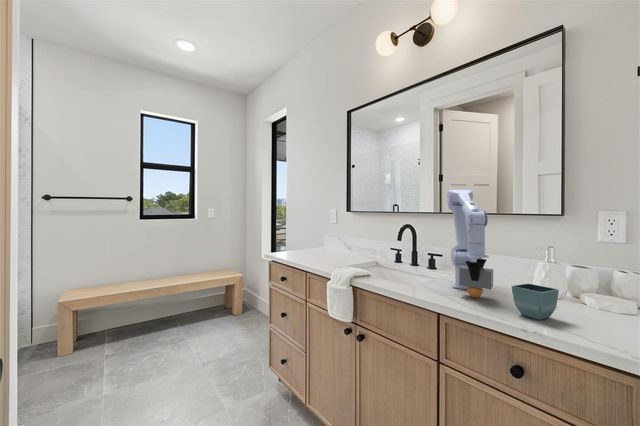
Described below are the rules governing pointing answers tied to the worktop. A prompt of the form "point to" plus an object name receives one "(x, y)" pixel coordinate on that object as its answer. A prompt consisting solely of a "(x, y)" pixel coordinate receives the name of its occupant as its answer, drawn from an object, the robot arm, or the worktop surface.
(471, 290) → the ball
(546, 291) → the flower pot
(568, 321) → the worktop surface
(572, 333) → the worktop surface
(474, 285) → the gray rectangular block
